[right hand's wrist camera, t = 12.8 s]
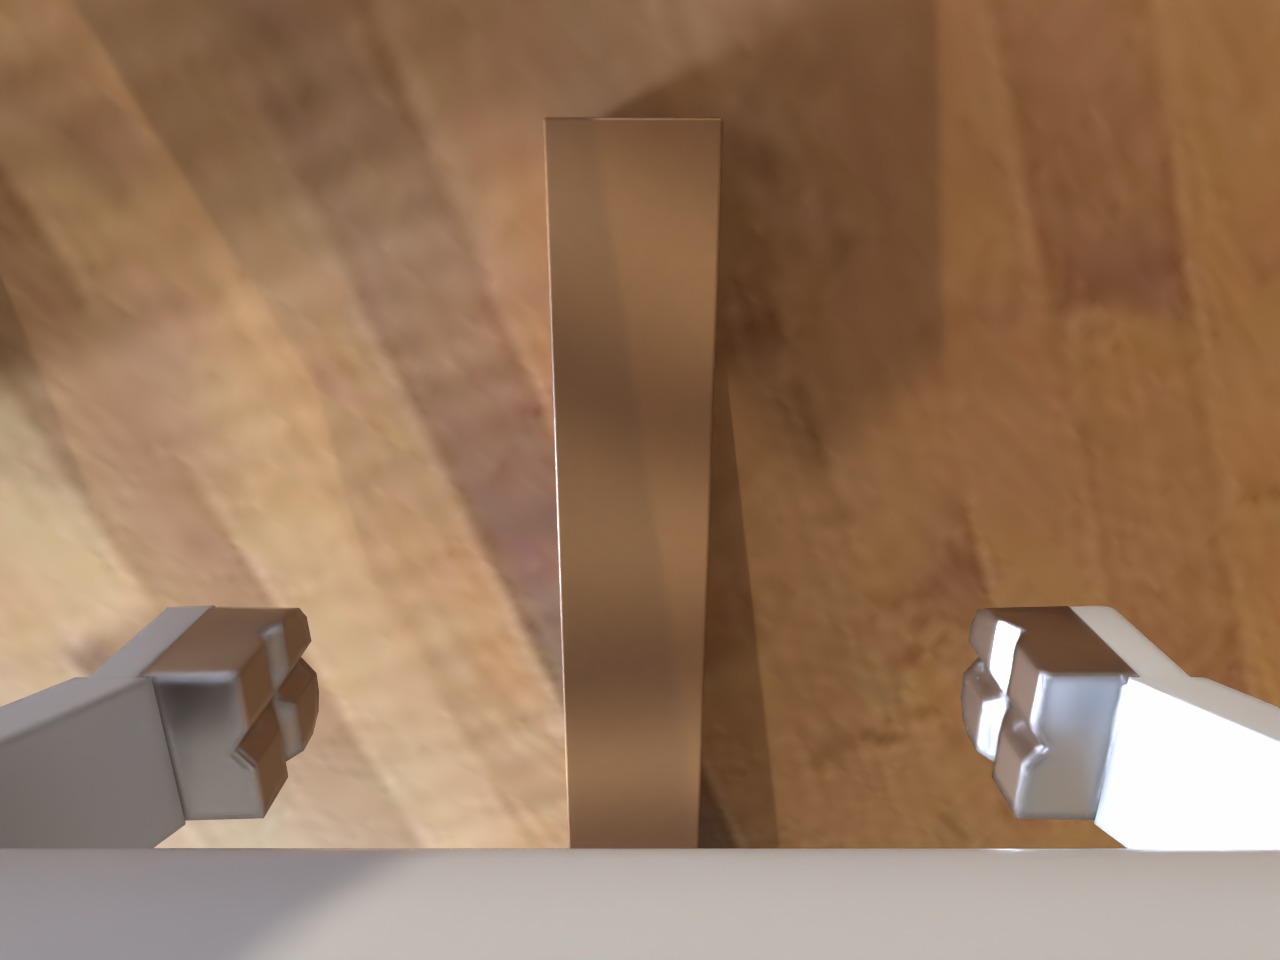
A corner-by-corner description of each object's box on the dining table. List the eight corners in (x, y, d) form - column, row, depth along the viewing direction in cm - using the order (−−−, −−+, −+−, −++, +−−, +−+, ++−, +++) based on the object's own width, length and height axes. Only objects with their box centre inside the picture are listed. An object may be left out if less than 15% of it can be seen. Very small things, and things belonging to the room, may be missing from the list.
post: (569, 133, 30) (542, 117, 21) (700, 134, 30) (723, 117, 21) (598, 1286, 53) (590, 1489, 45) (670, 1286, 53) (676, 1490, 45)
